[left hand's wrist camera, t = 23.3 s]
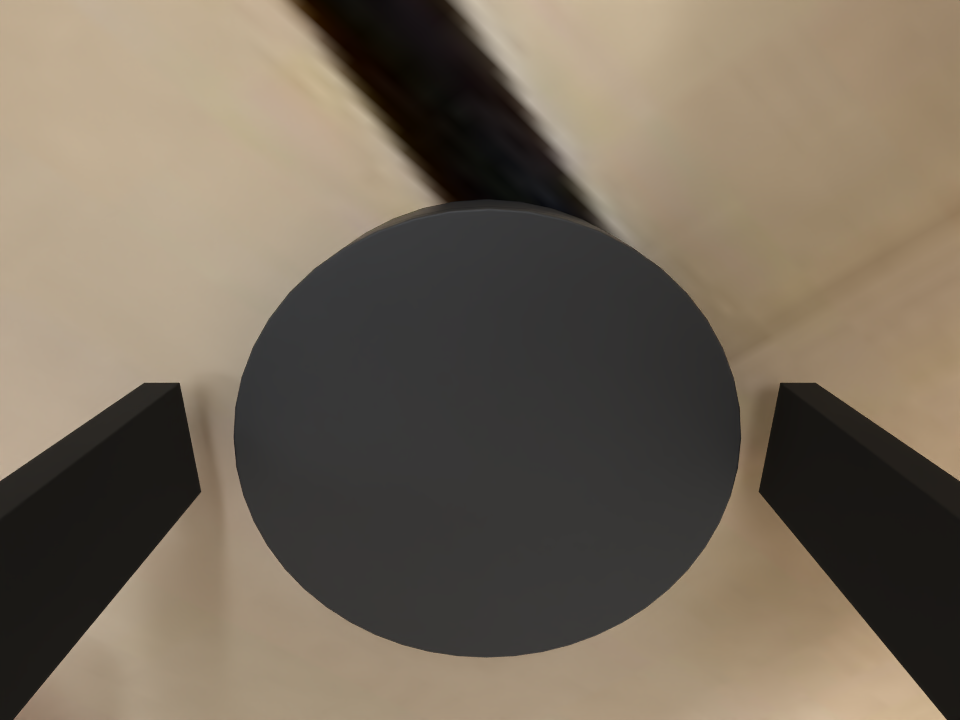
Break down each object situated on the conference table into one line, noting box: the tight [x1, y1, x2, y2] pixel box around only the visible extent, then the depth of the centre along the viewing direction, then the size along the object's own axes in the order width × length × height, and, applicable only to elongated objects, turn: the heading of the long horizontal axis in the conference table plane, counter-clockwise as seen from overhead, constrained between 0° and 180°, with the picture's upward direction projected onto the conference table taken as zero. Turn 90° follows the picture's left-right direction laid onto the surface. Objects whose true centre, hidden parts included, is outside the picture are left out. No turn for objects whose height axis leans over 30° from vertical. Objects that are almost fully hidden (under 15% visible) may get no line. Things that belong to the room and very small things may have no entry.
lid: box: [234, 199, 741, 657], centre depth 13 cm, size 10×10×2 cm
